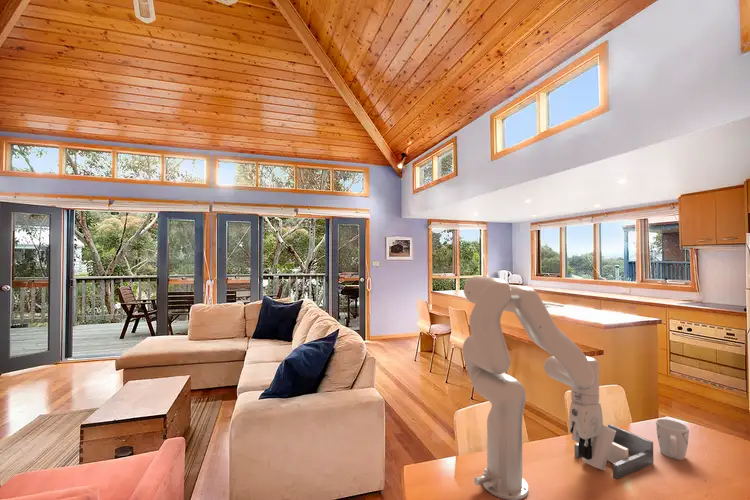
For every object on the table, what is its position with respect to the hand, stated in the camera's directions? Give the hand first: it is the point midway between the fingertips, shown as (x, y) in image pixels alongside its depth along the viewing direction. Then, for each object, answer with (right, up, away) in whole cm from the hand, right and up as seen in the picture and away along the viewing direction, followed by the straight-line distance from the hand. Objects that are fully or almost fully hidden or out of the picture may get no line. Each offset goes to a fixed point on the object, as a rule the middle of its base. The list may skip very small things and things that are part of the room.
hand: (585, 456), depth 108 cm
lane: (+12, -5, +6) cm, 14 cm away
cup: (+3, -4, +2) cm, 5 cm away
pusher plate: (+11, -4, +5) cm, 13 cm away
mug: (+34, -5, +8) cm, 36 cm away
